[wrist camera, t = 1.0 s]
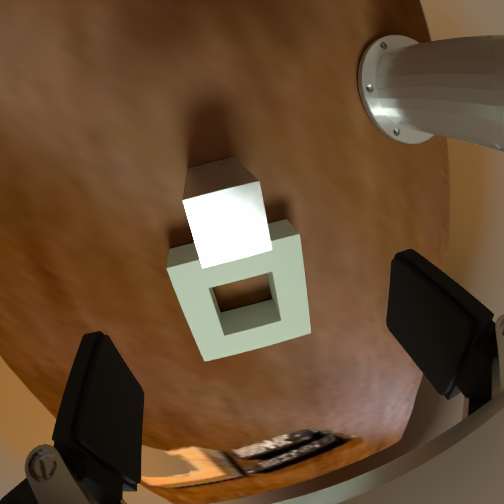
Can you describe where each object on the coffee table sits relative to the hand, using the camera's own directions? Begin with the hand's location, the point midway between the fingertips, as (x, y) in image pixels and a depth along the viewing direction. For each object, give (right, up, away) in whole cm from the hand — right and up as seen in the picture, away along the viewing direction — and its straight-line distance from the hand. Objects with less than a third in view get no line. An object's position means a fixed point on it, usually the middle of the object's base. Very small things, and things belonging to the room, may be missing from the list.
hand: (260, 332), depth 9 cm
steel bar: (-4, +9, +18) cm, 20 cm away
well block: (-1, -1, +23) cm, 23 cm away
